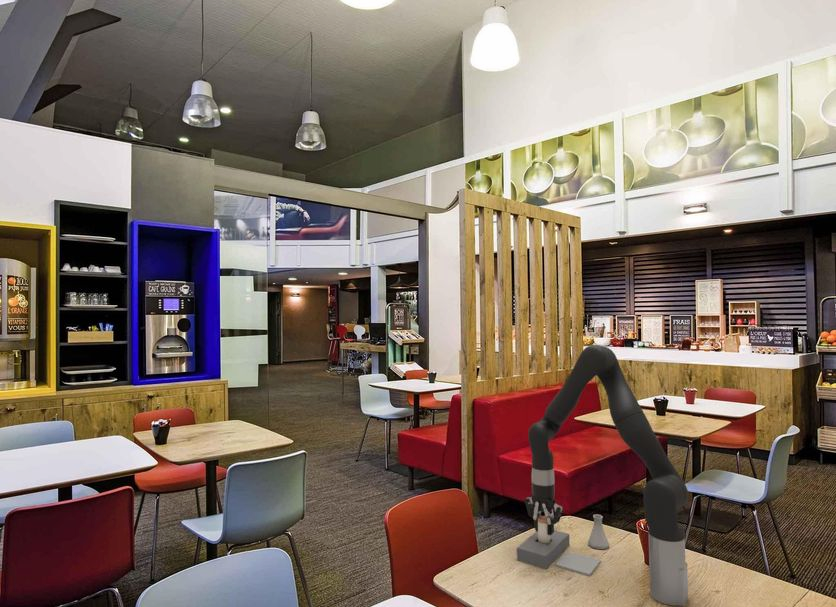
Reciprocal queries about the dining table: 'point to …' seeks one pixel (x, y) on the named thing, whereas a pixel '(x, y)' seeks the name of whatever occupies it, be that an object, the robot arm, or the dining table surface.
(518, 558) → the grey socket block
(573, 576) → the dining table surface
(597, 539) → the flask
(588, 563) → the mat
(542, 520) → the plug
